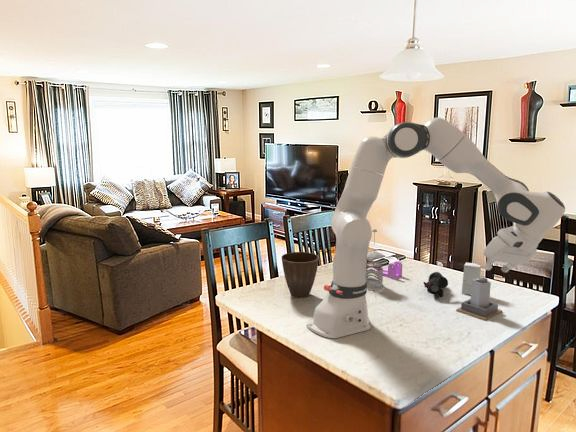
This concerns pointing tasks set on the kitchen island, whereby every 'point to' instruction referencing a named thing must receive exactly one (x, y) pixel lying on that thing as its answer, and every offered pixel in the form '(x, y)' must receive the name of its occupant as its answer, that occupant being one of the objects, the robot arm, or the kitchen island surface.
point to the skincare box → (470, 276)
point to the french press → (372, 282)
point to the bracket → (393, 270)
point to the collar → (479, 310)
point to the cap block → (480, 292)
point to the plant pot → (300, 272)
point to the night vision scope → (436, 284)
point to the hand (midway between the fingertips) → (494, 270)
